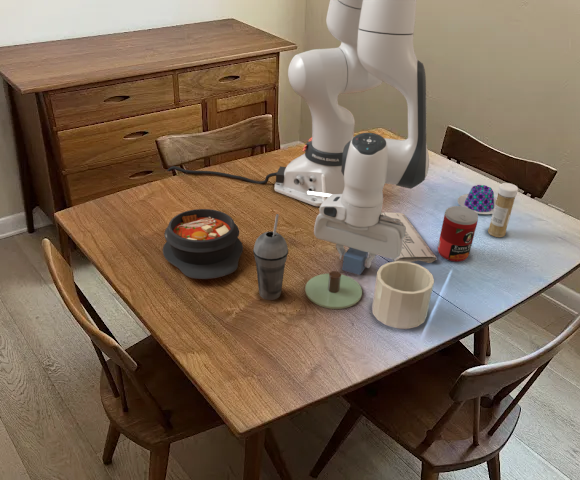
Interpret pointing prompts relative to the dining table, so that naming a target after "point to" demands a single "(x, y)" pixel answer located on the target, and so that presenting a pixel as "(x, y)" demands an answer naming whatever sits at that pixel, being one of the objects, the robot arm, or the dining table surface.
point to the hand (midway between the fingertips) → (354, 262)
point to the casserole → (203, 243)
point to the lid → (333, 290)
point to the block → (354, 261)
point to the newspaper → (412, 243)
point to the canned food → (457, 233)
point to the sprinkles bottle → (502, 209)
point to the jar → (402, 294)
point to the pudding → (479, 199)
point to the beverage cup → (270, 262)
